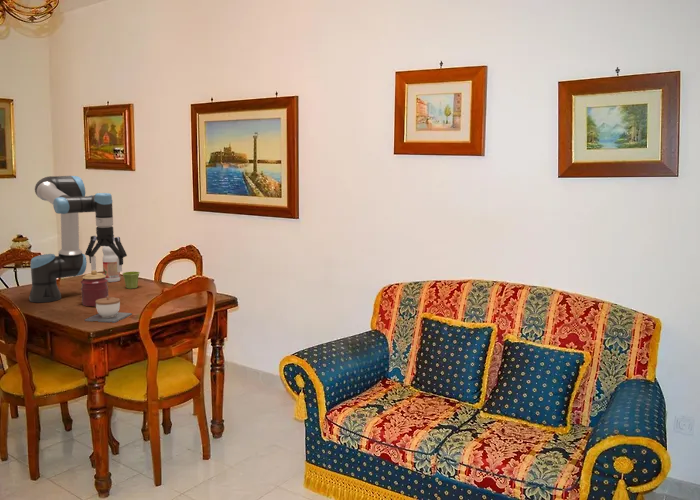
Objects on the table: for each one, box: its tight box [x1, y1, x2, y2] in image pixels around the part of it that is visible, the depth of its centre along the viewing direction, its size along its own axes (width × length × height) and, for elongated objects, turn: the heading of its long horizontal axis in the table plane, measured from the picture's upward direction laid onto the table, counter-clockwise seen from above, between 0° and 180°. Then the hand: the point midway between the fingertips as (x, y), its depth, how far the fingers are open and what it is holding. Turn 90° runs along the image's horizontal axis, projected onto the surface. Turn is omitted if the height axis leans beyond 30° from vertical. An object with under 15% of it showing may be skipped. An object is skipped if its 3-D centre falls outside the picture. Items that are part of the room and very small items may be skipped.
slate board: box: [84, 311, 133, 324], centre depth 299 cm, size 15×15×1 cm
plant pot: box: [122, 271, 141, 290], centre depth 364 cm, size 9×9×9 cm
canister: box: [80, 269, 109, 307], centre depth 325 cm, size 13×13×18 cm
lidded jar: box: [95, 295, 121, 318], centre depth 298 cm, size 11×11×9 cm
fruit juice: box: [101, 234, 121, 283], centre depth 382 cm, size 9×9×28 cm
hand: (106, 270), depth 301 cm, fingers open, 13 cm apart
